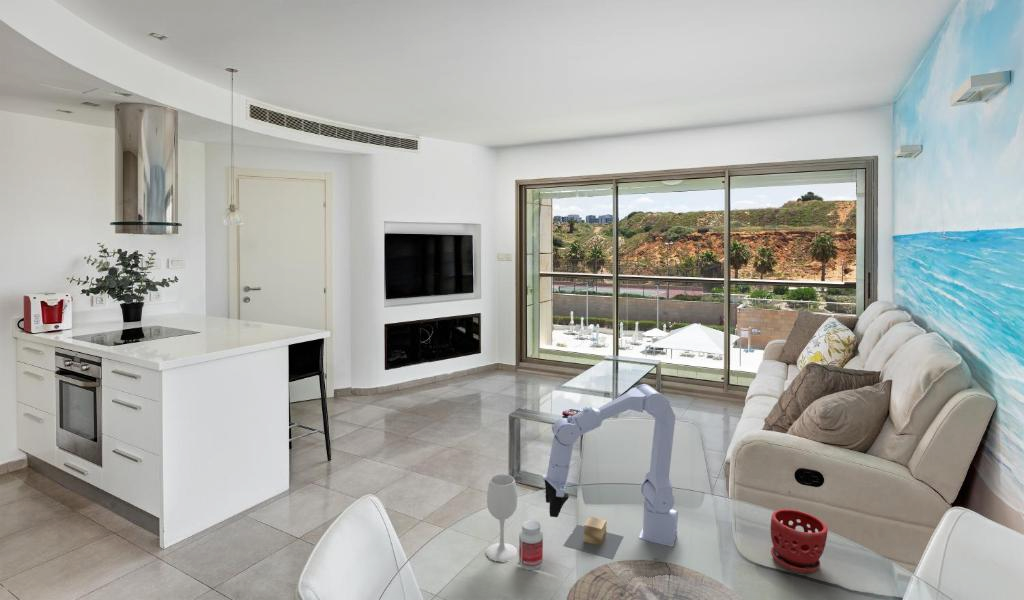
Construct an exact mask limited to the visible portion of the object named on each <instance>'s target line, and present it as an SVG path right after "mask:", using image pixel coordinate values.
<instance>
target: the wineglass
mask: <svg viewBox="0 0 1024 600" xmlns="http://www.w3.org/2000/svg"><path fill="white" fill-rule="evenodd" d="M487 487H488V488H487V492H486V494H487V495H486V505H487V509H488V512H489V513H490V514H491V516H492V517H493V518H494V519H497V520H498V521H499V530H500V532H499V533H500V534H499V542H497V543H496V542H495V543H493V544H491V545H489V546H490V547H489V546H488V547H487V548H488V549H486V550H485V554H486V557H487V556H488V557H489V558H488V557H487V558H488V560H491V559H492V560H491V561H493V560H494V561H493V562H496V561H506V560H507V561H510V560H512V559H514V558H516V556H517V554H518V550H517V548H516V546H514V545H512V544H510V543H507V542H505V538H504V537H505V535H504V533H505V532H504V530H505V529H504V528H505V521H506V520H507V519H510V517H512V516H513V515H514V513H515V512H516V510H517V507H518V490H517V483H516V480H515V478H514V477H513V476H512V475H509V474H504V473H503V474H502V473H501V474H495V475H493V476H492V477H490V478H489V482H488V486H487Z"/></svg>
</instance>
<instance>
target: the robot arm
mask: <svg viewBox="0 0 1024 600" xmlns="http://www.w3.org/2000/svg"><path fill="white" fill-rule="evenodd" d="M670 403H671V401H670V400H669V399H668V398H667V397H666V396H665V395H664V394H662V393H660V392H659V391H657V390H656V389H655V388H653V387H652V386H651V385H649V384H647V383H643V384H639V385H637V386H635V387H632V388H630V389H629V390H628V391H627V392H625V393H624V394H622V395H620V396H618V397H616V398H615V399H612V400H611V401H609V402H607V403H606V404H603V405H602V406H600V407H598V408H597V407H592V406H591V407H588V406H585V407H583V408H582V410H581V411H580V412H577V413H576V414H572V415H567V418H566V417H565V418H564V417H561V418H558V419H557V420H556V421H555V422H554V424H553V425H552V427H551V430H552V433H553V440H552V443H551V449H550V454H549V461H548V467H547V473H546V474H542V475H541V477H542V481H544V486H545V502H546V503H548V504H549V510H548V512H549V516H550V517H551V518H558V517H559V515H560V512H561V510H562V508H563V507H564V504H565V503H566V502H567V501H568V500H569V497H570V496H569V494H568V493H565V492H566V491H565V489H566V487H567V485H568V482H569V479H568V477H569V471H570V466H571V461H572V456H573V447H574V444H575V443H576V442H577V441H578V439H579V437H581V436H582V435H583V436H584V435H585V434H587V433H589V432H592V431H593V430H595V429H598V428H600V427H601V426H602V424H603V421H604V420H607V419H610V418H612V417H615V416H617V415H619V414H622V413H624V412H627V411H629V410H631V411H634V412H639V413H644V410H645V411H646V413H647V414H649V415H650V416H652V418H653V419H654V428H653V437H652V445H651V446H652V449H651V453H650V454H651V457H650V466H649V471H648V472H647V473H646V474H645V478H644V480H643V482H642V484H641V486H640V491H641V494H642V495H643V497H644V501H643V516H642V517H643V519H642V520H643V521H642V529H641V531H640V532H639V535H638V538H639V540H644V541H648V542H652V543H656V544H660V545H664V546H667V545H668V547H671V548H673V547H674V546H675V542H676V540H677V539H676V538H677V536H678V521H679V518H678V517H679V512H678V510H677V509H674V508H673V507H674V505H675V497H674V495H673V486H672V485H673V484H672V481H671V480H670V470H671V461H672V451H673V444H674V436H675V435H674V433H675V424H676V415H675V413H674V410H673V408H672V405H671V404H670Z"/></svg>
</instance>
